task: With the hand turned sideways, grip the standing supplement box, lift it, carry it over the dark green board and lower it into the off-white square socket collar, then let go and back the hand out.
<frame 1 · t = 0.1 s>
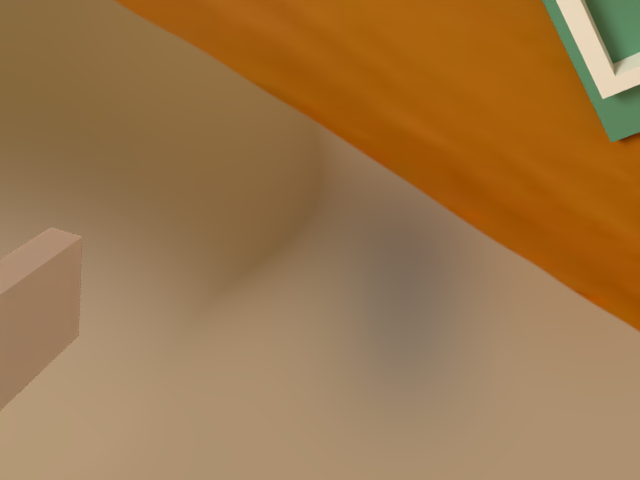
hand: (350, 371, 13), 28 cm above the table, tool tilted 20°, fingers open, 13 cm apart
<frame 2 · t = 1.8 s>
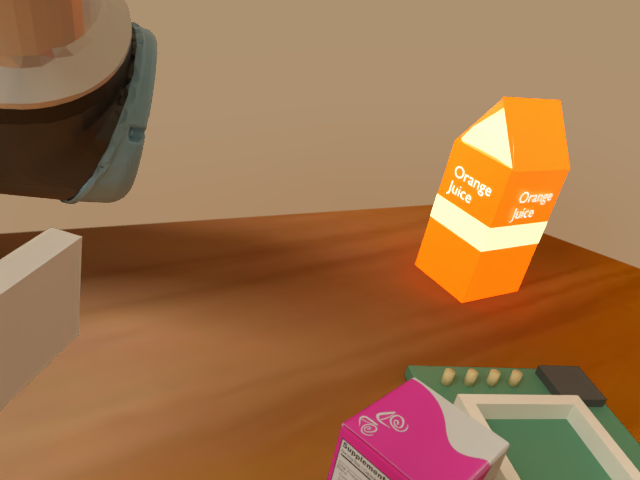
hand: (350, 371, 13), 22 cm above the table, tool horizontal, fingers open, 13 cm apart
socket board: (540, 451, 44), on the table
orange juice: (465, 279, 66), on the table
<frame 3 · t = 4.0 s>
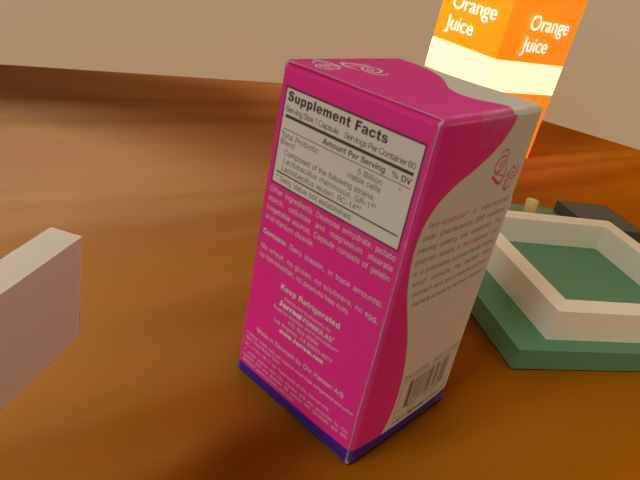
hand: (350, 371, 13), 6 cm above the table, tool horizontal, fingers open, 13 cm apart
socket board: (565, 278, 35), on the table
orange juice: (466, 145, 57), on the table
supplement box: (337, 387, 23), on the table
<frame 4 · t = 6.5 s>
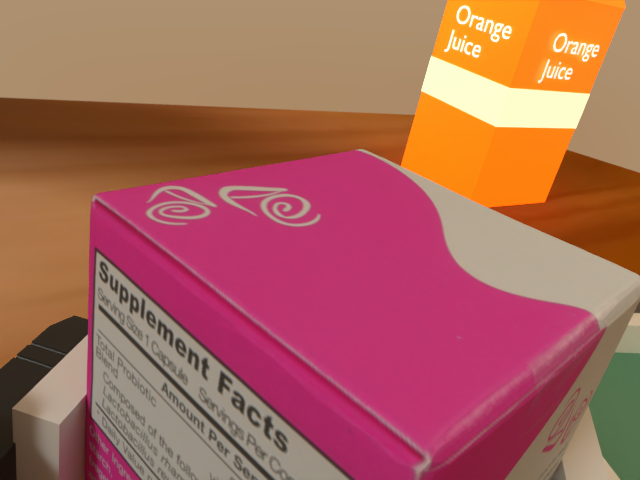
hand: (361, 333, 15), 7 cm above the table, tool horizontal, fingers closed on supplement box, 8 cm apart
socket board: (609, 404, 25), on the table
orange juice: (471, 186, 47), on the table
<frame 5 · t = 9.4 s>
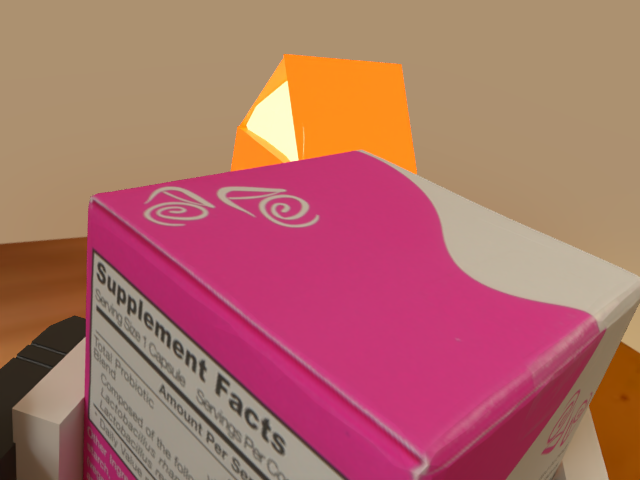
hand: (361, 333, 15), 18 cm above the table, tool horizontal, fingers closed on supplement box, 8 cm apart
orange juice: (284, 338, 44), on the table
when the fingers open (8 cm above the table, at t = 12.4 s): supplement box stays where it is, resting on socket board.
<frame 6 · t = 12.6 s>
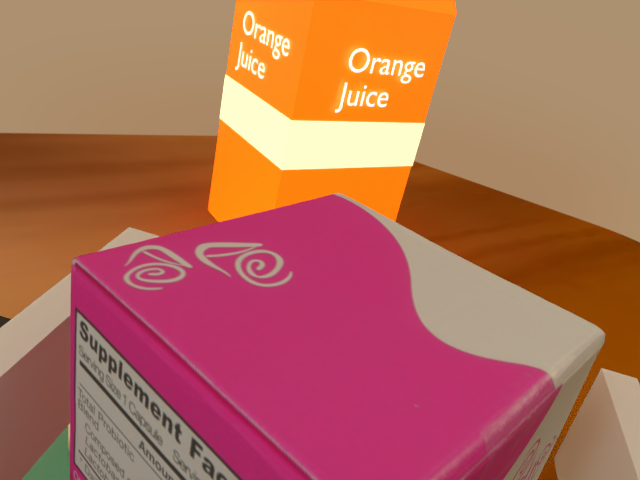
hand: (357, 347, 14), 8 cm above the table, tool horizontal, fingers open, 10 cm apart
orange juice: (295, 235, 38), on the table
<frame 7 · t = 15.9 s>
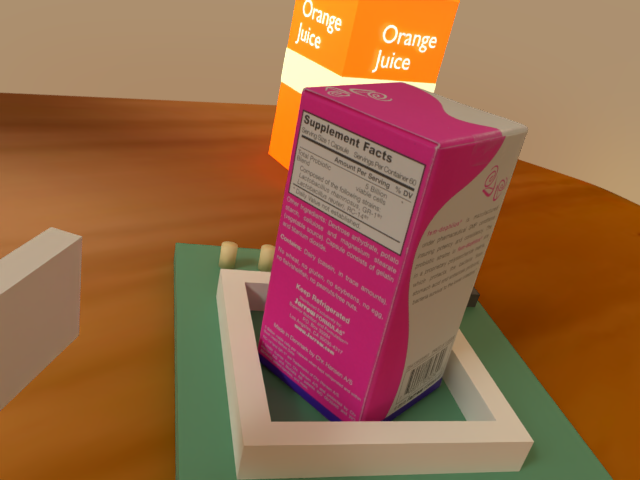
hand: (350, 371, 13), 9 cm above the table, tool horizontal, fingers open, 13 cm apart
socket board: (354, 361, 28), on the table
orange juice: (336, 172, 50), on the table
supplement box: (345, 377, 25), point 1 cm above the table, touching socket board
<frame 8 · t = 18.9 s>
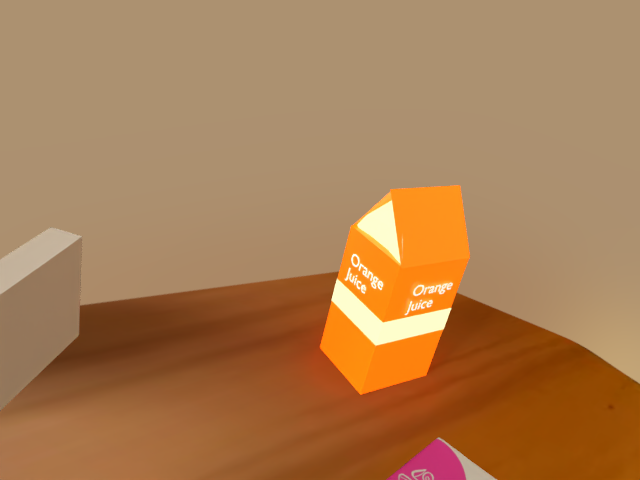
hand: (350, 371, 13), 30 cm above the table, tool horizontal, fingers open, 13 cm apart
orange juice: (372, 363, 64), on the table
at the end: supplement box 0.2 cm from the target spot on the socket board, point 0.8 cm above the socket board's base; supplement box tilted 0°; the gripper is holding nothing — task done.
